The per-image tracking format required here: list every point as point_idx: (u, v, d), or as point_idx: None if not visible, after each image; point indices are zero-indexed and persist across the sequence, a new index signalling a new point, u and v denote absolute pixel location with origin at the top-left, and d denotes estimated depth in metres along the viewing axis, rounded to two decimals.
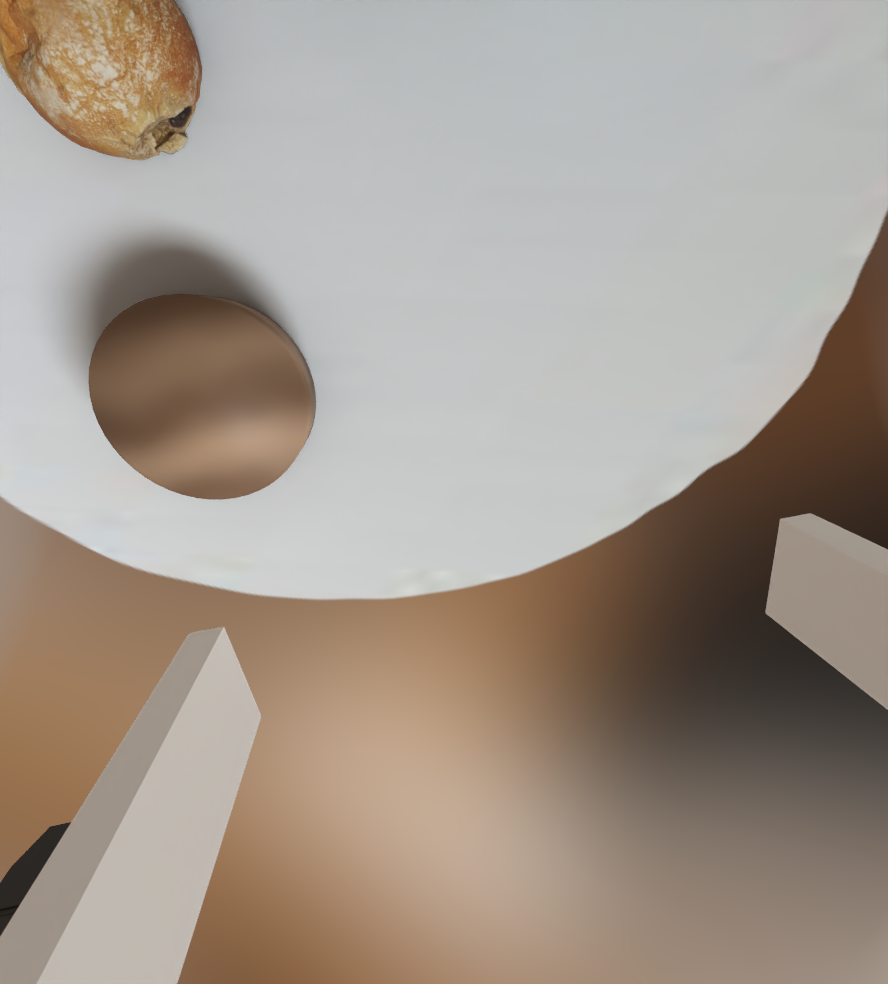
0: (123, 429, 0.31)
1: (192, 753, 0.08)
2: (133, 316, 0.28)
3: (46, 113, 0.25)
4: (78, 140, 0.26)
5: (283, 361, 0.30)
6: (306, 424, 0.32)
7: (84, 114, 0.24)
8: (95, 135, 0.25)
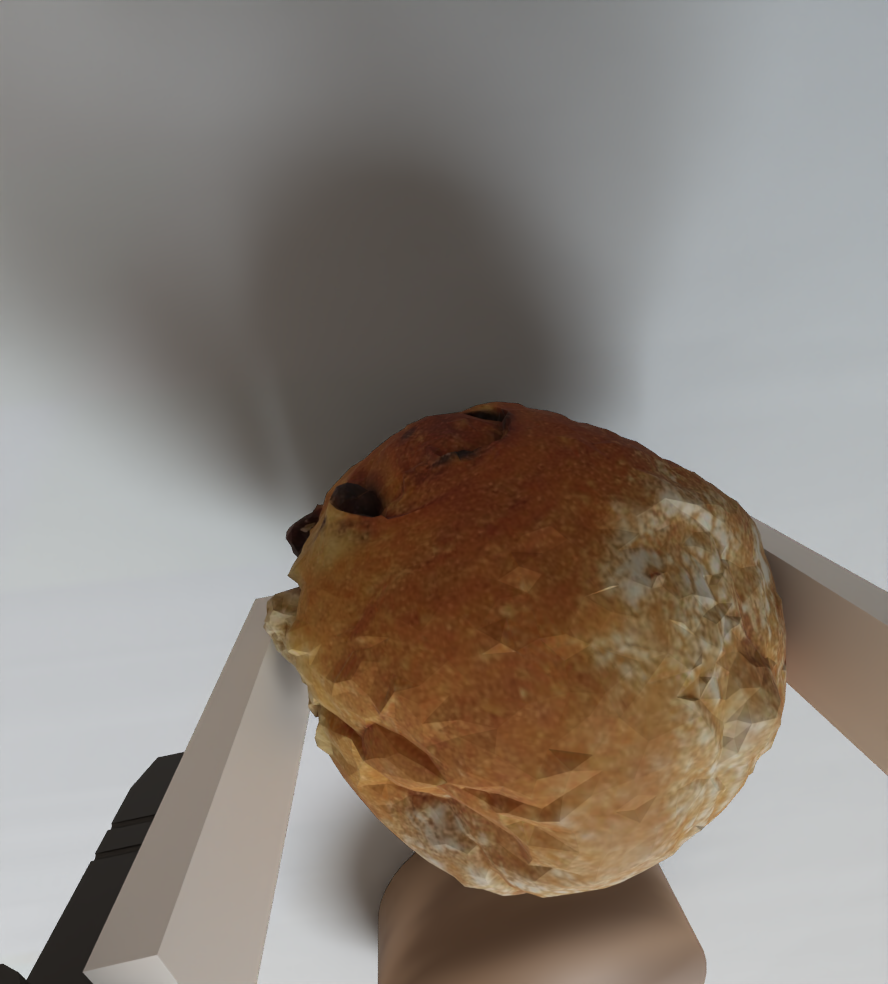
0: None
1: (272, 699, 0.09)
2: (478, 949, 0.16)
3: None
4: None
5: (688, 953, 0.18)
6: None
7: None
8: None
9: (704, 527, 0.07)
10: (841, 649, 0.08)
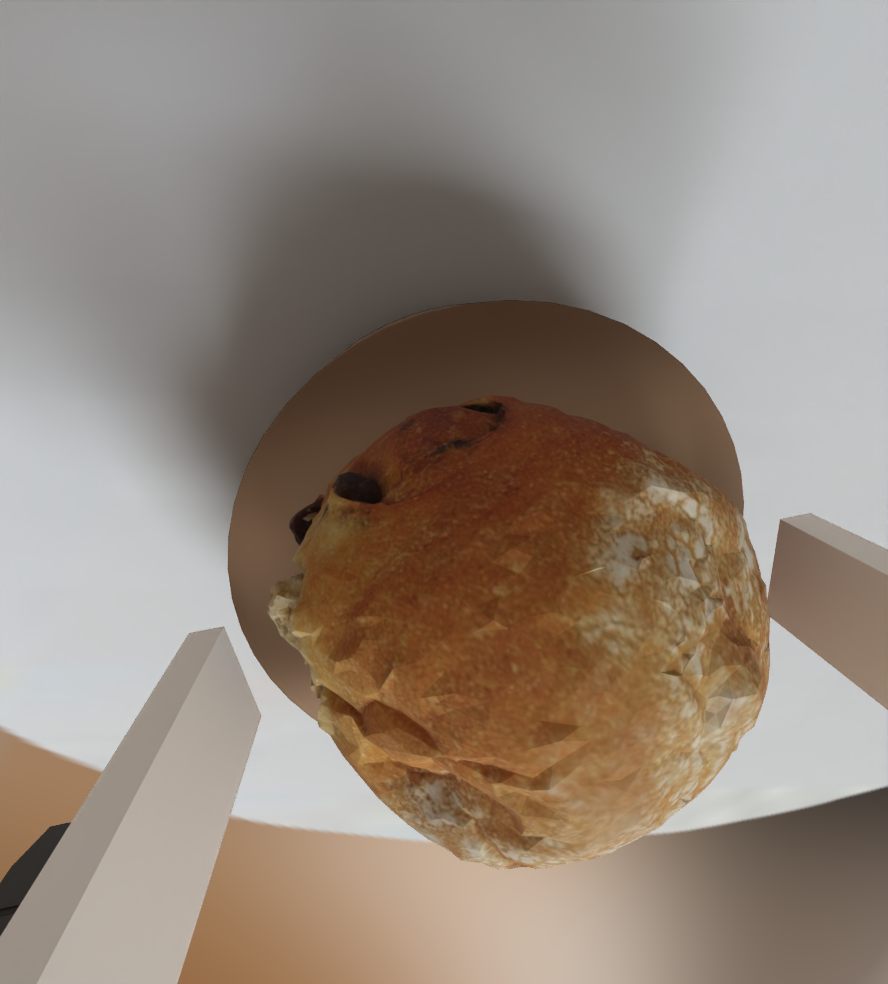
0: None
1: (192, 753, 0.08)
2: (373, 364, 0.10)
3: None
4: None
5: (717, 473, 0.12)
6: None
7: None
8: None
9: (689, 514, 0.07)
10: None
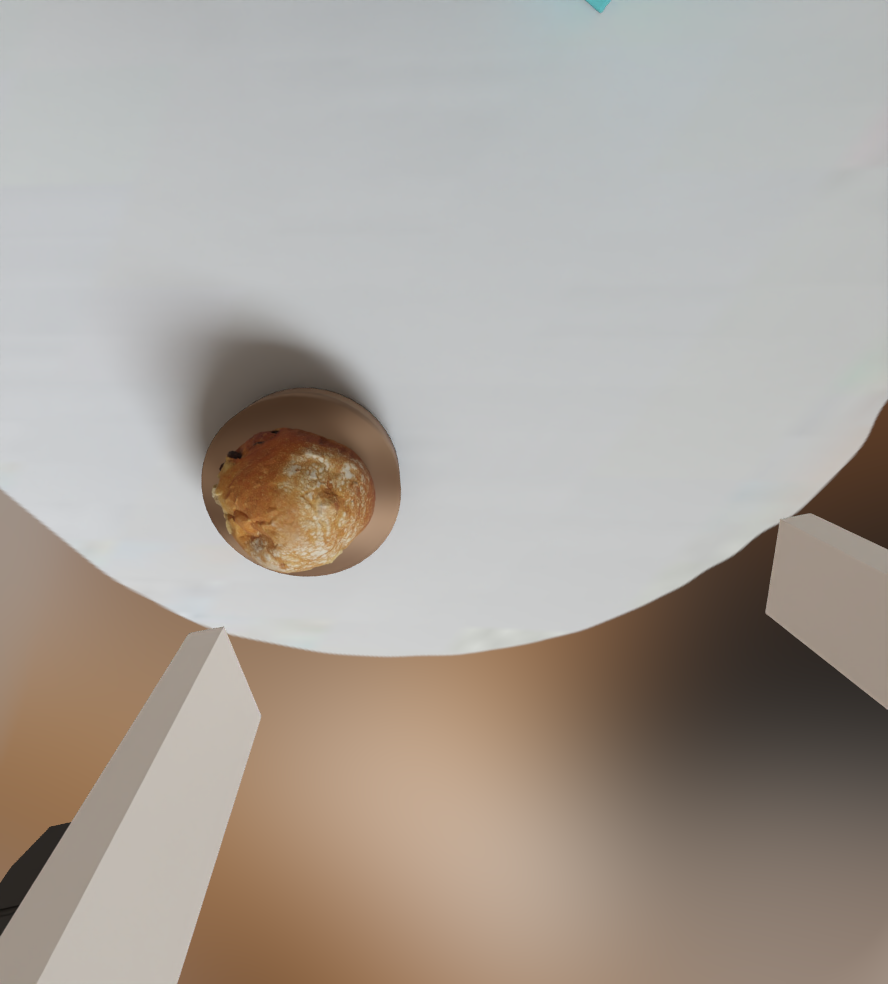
0: None
1: (192, 753, 0.08)
2: (247, 417, 0.30)
3: (261, 564, 0.30)
4: None
5: (381, 453, 0.32)
6: (398, 508, 0.34)
7: (294, 570, 0.30)
8: None
9: (320, 461, 0.28)
10: None
